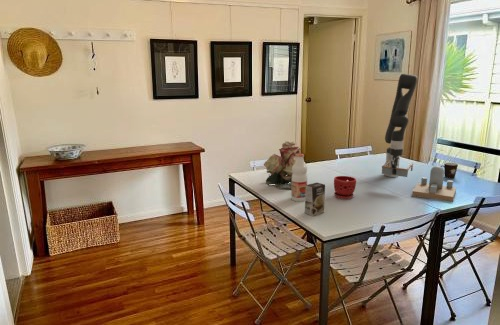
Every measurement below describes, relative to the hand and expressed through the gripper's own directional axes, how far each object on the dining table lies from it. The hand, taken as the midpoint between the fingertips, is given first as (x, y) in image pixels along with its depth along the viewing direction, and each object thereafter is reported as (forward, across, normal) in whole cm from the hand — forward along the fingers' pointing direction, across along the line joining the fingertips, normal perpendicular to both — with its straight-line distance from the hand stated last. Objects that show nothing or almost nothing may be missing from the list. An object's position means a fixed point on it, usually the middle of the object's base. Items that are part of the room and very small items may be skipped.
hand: (394, 173), depth 234 cm
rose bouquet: (+11, +24, -64) cm, 70 cm away
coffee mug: (+11, -49, +26) cm, 57 cm away
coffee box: (+10, +64, -26) cm, 70 cm away
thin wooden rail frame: (+1, -8, 0) cm, 8 cm away
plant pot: (+11, +30, -22) cm, 38 cm away
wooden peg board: (+10, -4, +24) cm, 26 cm away
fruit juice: (+11, +48, -44) cm, 66 cm away
